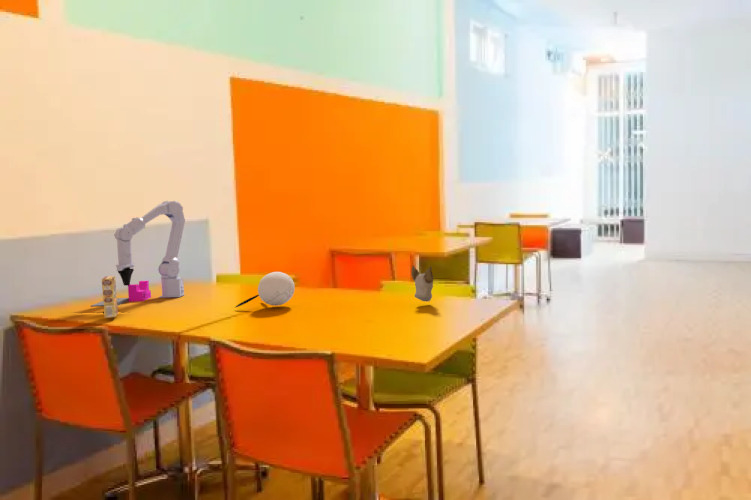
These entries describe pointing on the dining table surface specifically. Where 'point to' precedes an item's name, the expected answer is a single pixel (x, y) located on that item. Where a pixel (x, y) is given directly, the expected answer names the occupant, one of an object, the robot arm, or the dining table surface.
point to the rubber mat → (119, 301)
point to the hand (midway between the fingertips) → (126, 285)
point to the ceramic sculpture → (423, 284)
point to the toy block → (139, 291)
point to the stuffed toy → (274, 289)
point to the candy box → (109, 296)
